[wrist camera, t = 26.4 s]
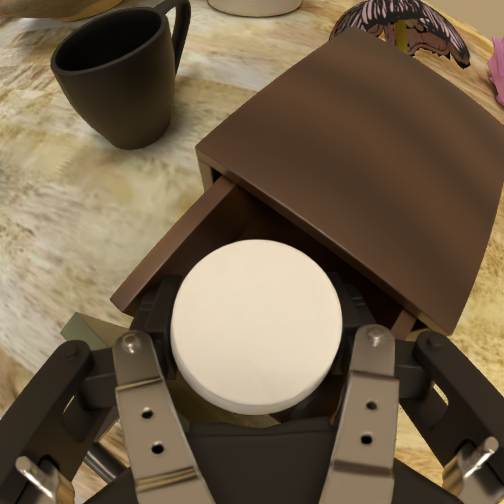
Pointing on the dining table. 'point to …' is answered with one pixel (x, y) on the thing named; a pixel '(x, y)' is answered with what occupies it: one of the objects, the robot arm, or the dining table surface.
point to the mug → (124, 71)
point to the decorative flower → (406, 27)
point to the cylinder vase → (255, 7)
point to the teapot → (498, 68)
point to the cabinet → (373, 169)
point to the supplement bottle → (255, 327)
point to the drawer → (181, 263)
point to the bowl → (56, 8)
